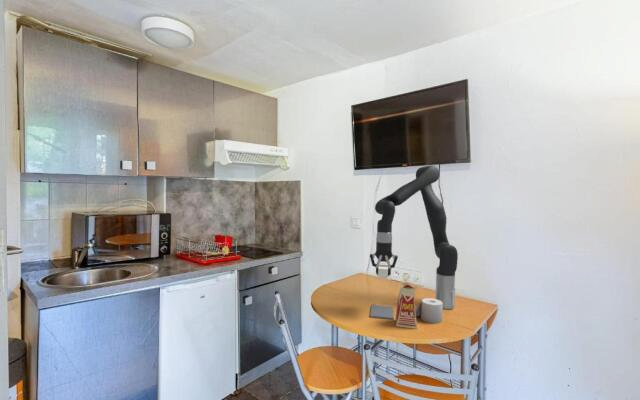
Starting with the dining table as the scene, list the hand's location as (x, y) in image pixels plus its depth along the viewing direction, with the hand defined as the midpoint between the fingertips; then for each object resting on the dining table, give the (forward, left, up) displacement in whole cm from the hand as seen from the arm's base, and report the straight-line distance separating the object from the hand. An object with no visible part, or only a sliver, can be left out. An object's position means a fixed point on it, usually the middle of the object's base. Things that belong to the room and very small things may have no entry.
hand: (383, 275), depth 159 cm
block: (-2, +7, +3) cm, 7 cm away
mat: (0, 0, -19) cm, 19 cm away
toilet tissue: (-21, -5, -19) cm, 29 cm away
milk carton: (-14, +6, -19) cm, 24 cm away
